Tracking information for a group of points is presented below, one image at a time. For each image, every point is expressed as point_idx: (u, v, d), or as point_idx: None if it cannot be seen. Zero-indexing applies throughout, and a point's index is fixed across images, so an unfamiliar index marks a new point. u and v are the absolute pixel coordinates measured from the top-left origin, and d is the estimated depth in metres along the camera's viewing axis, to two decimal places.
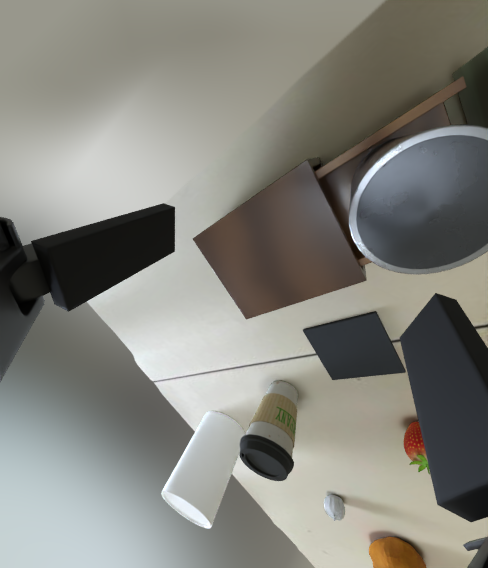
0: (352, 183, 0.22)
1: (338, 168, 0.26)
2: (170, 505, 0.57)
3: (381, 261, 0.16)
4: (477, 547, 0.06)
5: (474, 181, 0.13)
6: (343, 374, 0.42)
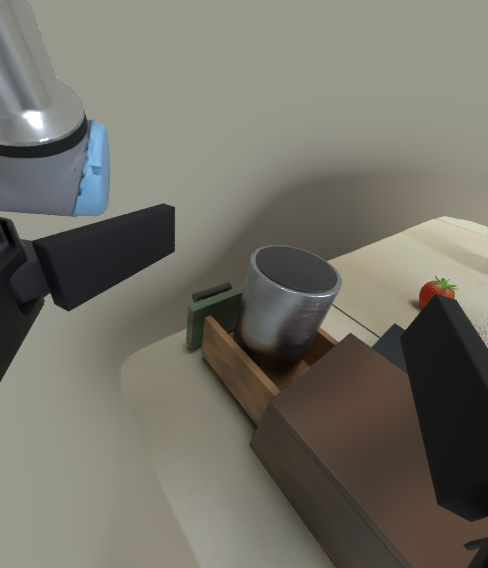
0: (277, 365, 0.23)
1: None
2: None
3: (338, 278, 0.21)
4: (477, 547, 0.06)
5: (275, 256, 0.22)
6: None
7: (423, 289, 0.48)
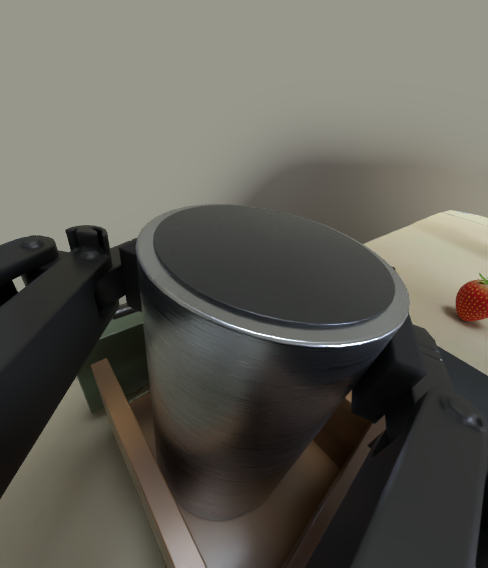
0: (236, 491, 0.09)
1: None
2: None
3: (392, 276, 0.07)
4: (375, 443, 0.07)
5: None
6: None
7: (463, 291, 0.35)
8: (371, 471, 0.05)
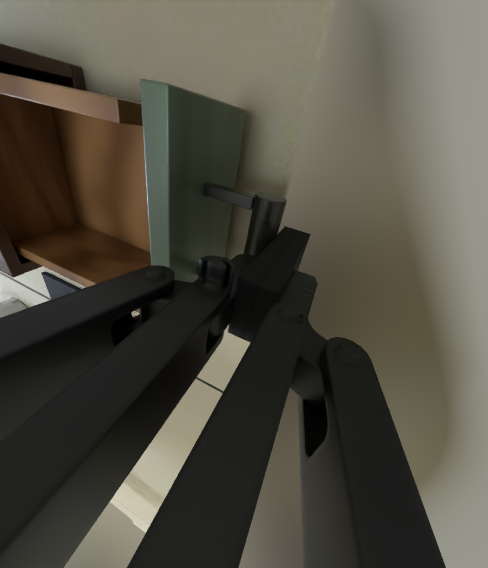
0: None
1: None
2: None
3: None
4: None
5: None
6: None
7: None
8: None
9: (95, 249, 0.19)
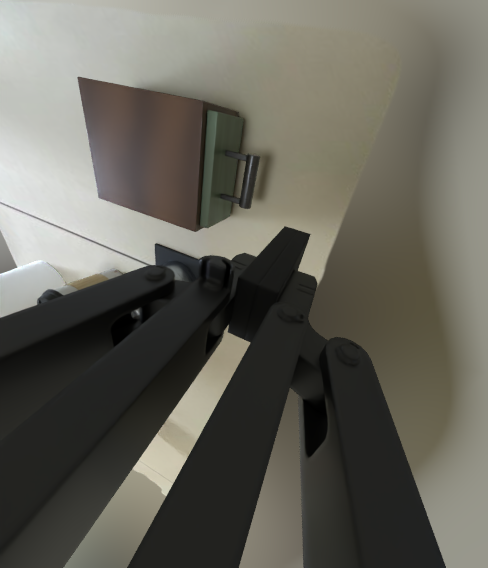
0: None
1: None
2: None
3: None
4: None
5: None
6: None
7: None
8: None
9: None
